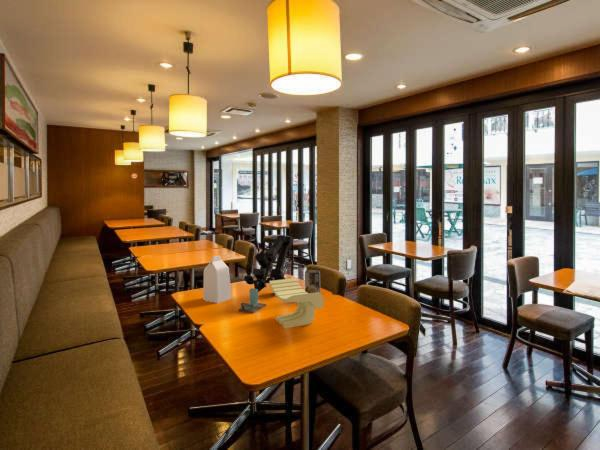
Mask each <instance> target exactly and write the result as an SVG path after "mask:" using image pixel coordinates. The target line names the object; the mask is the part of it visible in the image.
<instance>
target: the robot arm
mask: <svg viewBox="0 0 600 450" xmlns="http://www.w3.org/2000/svg"><path fill="white" fill-rule="evenodd" d="M294 240H295V239H294V237H293V236H292V235H283V234H280V235H279V234H278V235H277V236H276V238H275V240H274V241H273V243H272V245H271V247H270V248H269V249H266V251H263V250H262V251H260V252H258V253H257V254H256V255H255V256H254V258H255V261H256V262H257V264H258V265H259V266H260V267H259V268H252V273H251V274H252V275H254V277H253V276H252V275H248V274H246V275H244V277H243V280H244V281H245V283H246V284H247V285H253V286H254V287H253V289H258V293H260V292H261V291H262V290H263V289H264V288H267V284H269V281H274V280H283V279H286V277H285V273H284V267H285V264H286V259H287V256H288V251H289V249H291V247H292V246H293V243H294ZM278 252H279V253H278ZM275 262H276V264H275V267H274V268H273V264H272V263H275ZM269 273H270V274H269ZM272 293H273V292H272ZM273 295H274V296H275V293H273Z"/></svg>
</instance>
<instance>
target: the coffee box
mask: <svg viewBox="0 0 600 450" xmlns="http://www.w3.org/2000/svg"><path fill="white" fill-rule="evenodd" d="M304 291H306V292H307V293H316V292H319V293H321V270H317V269H316V270H314V269H313V270H309V269H305V271H304Z"/></svg>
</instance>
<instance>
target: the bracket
mask: <svg viewBox="0 0 600 450" xmlns="http://www.w3.org/2000/svg"><path fill="white" fill-rule="evenodd" d="M249 303H250V302H249ZM249 303H247V302H241V303H240V308H239V309H238V312H242V313H249V314H254V313H256V312H258V311H260V310H261V309H263V308H265V307H266V306H267V303H262V302H258V306H256V307H254V304H249ZM246 306H248V307H251V309H249V310H247V309H245V307H246Z"/></svg>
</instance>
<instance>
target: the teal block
mask: <svg viewBox="0 0 600 450" xmlns="http://www.w3.org/2000/svg"><path fill="white" fill-rule="evenodd" d="M258 303H259V292H258V289H254V288H250V289H249V304H254V307H256V306H258ZM245 309H247V310H249V309H251V307H248V306H246V307H245Z"/></svg>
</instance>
